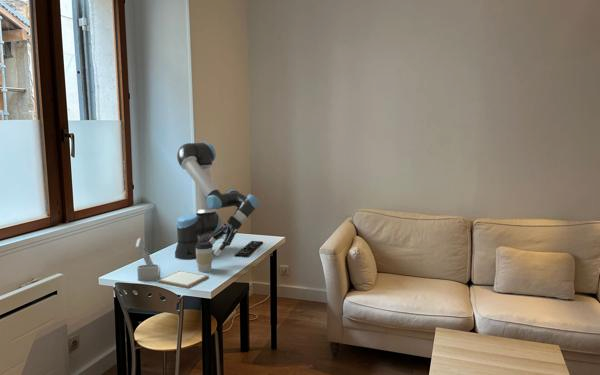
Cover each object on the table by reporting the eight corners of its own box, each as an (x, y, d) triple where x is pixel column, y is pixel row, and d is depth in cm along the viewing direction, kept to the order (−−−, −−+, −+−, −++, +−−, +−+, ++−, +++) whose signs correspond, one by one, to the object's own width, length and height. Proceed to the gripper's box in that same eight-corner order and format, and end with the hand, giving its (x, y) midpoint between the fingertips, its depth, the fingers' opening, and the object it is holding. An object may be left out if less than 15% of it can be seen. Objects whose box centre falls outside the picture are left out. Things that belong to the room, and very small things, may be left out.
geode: (206, 243, 288) (204, 228, 286) (191, 244, 292) (189, 229, 291) (223, 235, 306) (221, 220, 305) (209, 235, 311) (206, 221, 309)
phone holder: (158, 279, 221) (157, 243, 219) (137, 281, 219) (135, 245, 216) (159, 268, 238) (158, 235, 235) (139, 269, 235) (138, 236, 232)
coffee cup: (198, 273, 230) (197, 245, 227) (193, 268, 237) (193, 241, 235) (215, 271, 234) (215, 243, 231) (210, 266, 242) (210, 239, 239)
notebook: (157, 282, 217) (157, 280, 217) (179, 272, 231) (179, 270, 231) (187, 288, 209) (187, 285, 209) (208, 277, 224) (208, 275, 224)
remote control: (234, 257, 259) (234, 254, 259) (251, 243, 290) (251, 240, 290) (247, 258, 258) (247, 255, 257) (262, 243, 289) (262, 240, 288)
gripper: (251, 228, 231) (224, 261, 226) (232, 219, 252) (207, 249, 247) (241, 219, 228) (214, 253, 222) (223, 211, 249) (198, 241, 243)
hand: (210, 251), depth 234 cm, fingers open, 13 cm apart
